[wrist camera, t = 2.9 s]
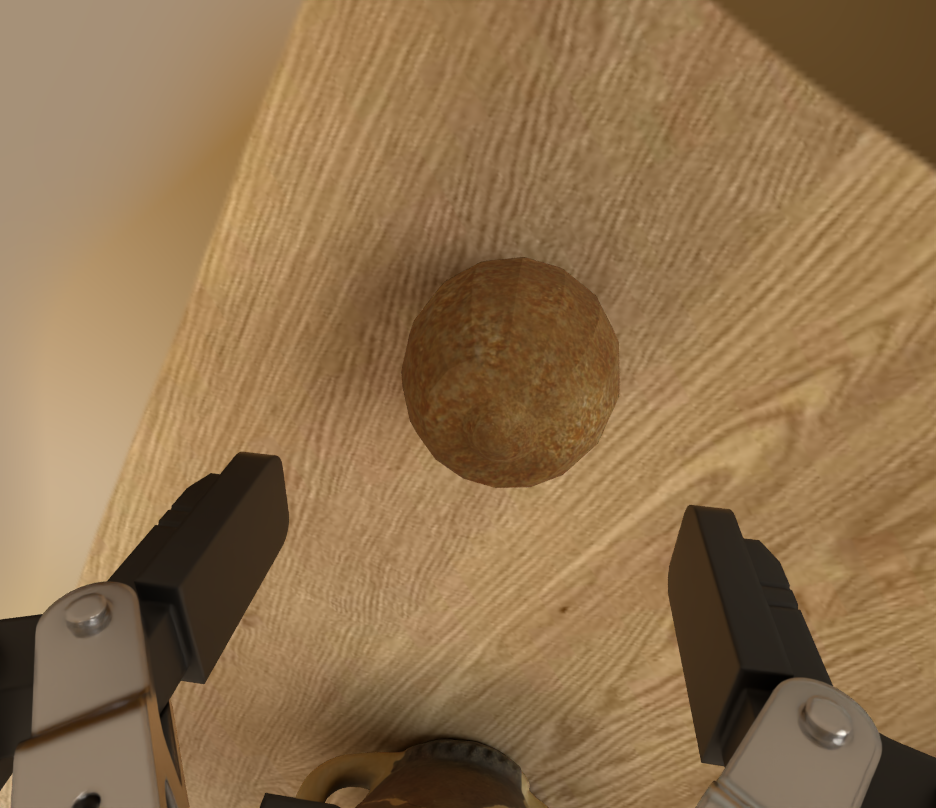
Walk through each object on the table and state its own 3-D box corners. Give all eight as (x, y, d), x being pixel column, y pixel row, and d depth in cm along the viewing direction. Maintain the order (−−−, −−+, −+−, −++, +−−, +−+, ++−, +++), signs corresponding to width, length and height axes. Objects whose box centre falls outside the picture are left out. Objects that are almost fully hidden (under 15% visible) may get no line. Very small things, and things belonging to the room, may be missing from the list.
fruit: (404, 258, 21) (324, 362, 14) (586, 200, 19) (598, 285, 12) (465, 412, 23) (424, 562, 17) (630, 373, 22) (659, 523, 15)
